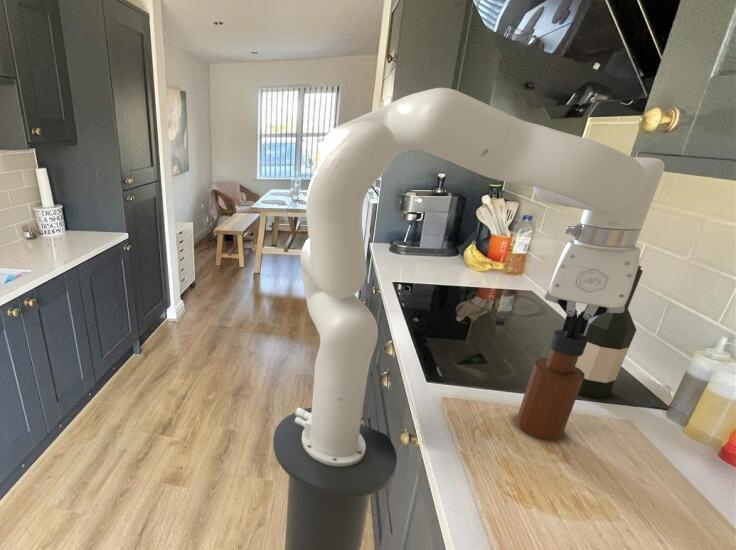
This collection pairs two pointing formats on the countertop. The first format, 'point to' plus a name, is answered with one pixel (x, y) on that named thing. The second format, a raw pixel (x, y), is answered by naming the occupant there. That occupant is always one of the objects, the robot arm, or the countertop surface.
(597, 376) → the wine bottle
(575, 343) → the bung
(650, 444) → the countertop surface
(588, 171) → the robot arm
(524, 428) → the brown bottle
